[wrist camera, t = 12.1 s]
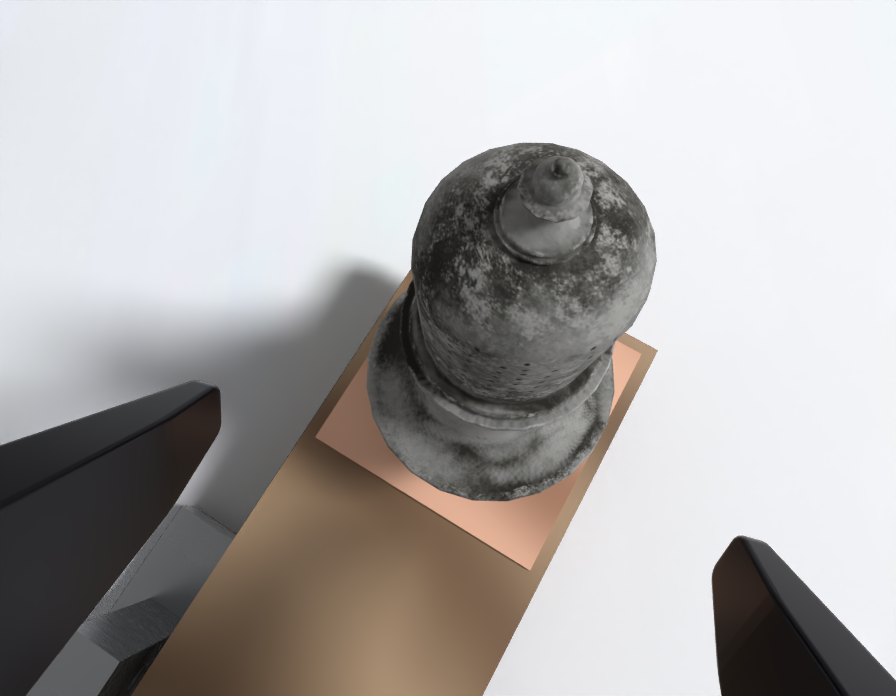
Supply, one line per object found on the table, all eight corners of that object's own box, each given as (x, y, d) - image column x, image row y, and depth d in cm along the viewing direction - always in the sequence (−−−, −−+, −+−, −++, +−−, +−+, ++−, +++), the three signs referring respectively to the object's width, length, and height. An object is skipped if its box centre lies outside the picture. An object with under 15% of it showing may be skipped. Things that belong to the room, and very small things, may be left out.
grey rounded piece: (595, 487, 16) (1031, 477, 4) (391, 510, 15) (215, 570, 4) (562, 296, 17) (806, -122, 5) (376, 315, 17) (217, -73, 5)
